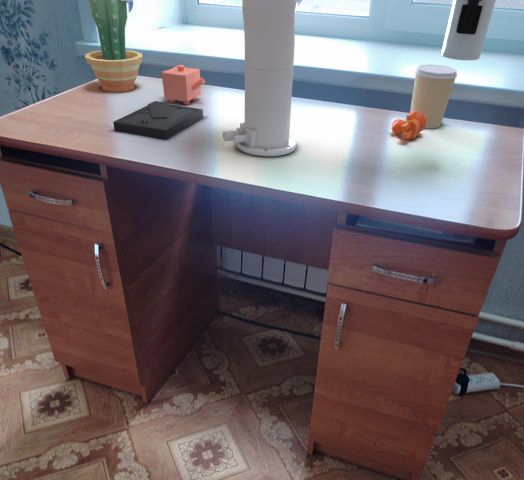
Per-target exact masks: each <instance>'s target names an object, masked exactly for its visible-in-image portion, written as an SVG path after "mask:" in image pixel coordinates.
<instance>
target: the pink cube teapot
mask: <svg viewBox="0 0 524 480" xmlns="http://www.w3.org/2000/svg"><path fill="white" fill-rule="evenodd" d="M161 81H162V87H163V88H162V89H163V99H164V100H169V103H171V104H173V103H176V102H177V101H179V102H182V104H183V105H190V104H191V103H190V101H193V102H194V101H197V97H199V96H201V95H202V91H201V90H202V89H201V87H202V86H204V85H205V84H206V80H205V79H204V77H201V70H200V68H194V67H186V66H185V65H184V64H178V65H176V66H174V67H172V68H170V69H167V70H162V71H161Z"/></svg>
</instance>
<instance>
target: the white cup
mask: <svg viewBox="0 0 524 480" xmlns="http://www.w3.org/2000/svg"><path fill="white" fill-rule="evenodd" d="M464 3H465V0H452V4H451V9H450V13H449V16H448V17H449V18H448V22H447V26H446V29H445V30H446V31H445V35H444V38H443V43H442V48H441V52H440V56H442V57H443V58H447V59H451V60H457V61H477V60H479V59H481V55H482V51H483V47H484V43H485V40H486V37H487V33H488V29H489V26H490V22H491V18H492V15H493V11H494V8H495V4H496V0H483V2H482V5H481V6H483V8H482V11H481V15H480V19H479V23H478V26H477V30H476V33H475V34H474V35H471V34H460V33H457V32H456V30H457V26H458V21H459V17H460V13H461V9H462V5H463V4H464ZM478 4H479V3H478ZM467 5H468V4H467Z"/></svg>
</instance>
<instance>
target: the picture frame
mask: <svg viewBox="0 0 524 480" xmlns="http://www.w3.org/2000/svg"><path fill="white" fill-rule="evenodd" d="M202 119H204V109H203V108H197V107H191V106H183V105H177V104H172V103H171V102H166V101H160V100H159V101H158V100H154V101H152V102H149V103H147V105H145V106H143V107H141V108H139V109H137V110H135V111H133V112H131V113H128V114H127V115H126V114H125V116H122V117H120V118H118V119H115V120H114V121H113V122H112V123H113V129H114V131H115V132H122V133H127V134H131V135H139V136H144V137H151V138H154V139H155V138H157V139H163V140H168V139H170V138H172V137H174V136H175V135H176V134H178V133H180V132H181V131H184V130H185V129H187V128H189V127H190V126H192V125H194V124H195V123H197V122H199V121H201V120H202Z"/></svg>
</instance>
